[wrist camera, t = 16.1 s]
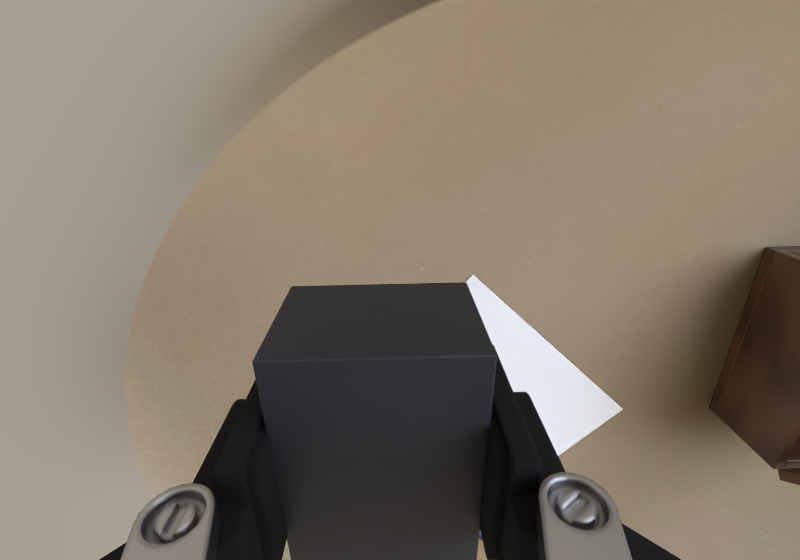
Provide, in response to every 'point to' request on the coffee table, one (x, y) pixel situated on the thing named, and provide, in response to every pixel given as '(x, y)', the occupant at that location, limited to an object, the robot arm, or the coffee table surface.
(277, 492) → the robot arm
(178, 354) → the coffee table surface
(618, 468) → the coffee table surface
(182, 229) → the coffee table surface
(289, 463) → the dark grey block
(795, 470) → the cover
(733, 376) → the case
